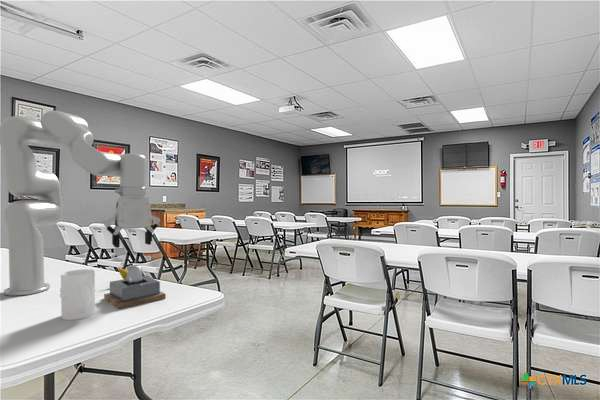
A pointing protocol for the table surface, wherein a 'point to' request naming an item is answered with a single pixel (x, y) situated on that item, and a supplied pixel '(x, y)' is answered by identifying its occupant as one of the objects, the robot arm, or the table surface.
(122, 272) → the drill bit
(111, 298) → the dock board
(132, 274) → the steel peg
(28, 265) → the robot arm
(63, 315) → the mug
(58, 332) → the table surface
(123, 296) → the socket block
